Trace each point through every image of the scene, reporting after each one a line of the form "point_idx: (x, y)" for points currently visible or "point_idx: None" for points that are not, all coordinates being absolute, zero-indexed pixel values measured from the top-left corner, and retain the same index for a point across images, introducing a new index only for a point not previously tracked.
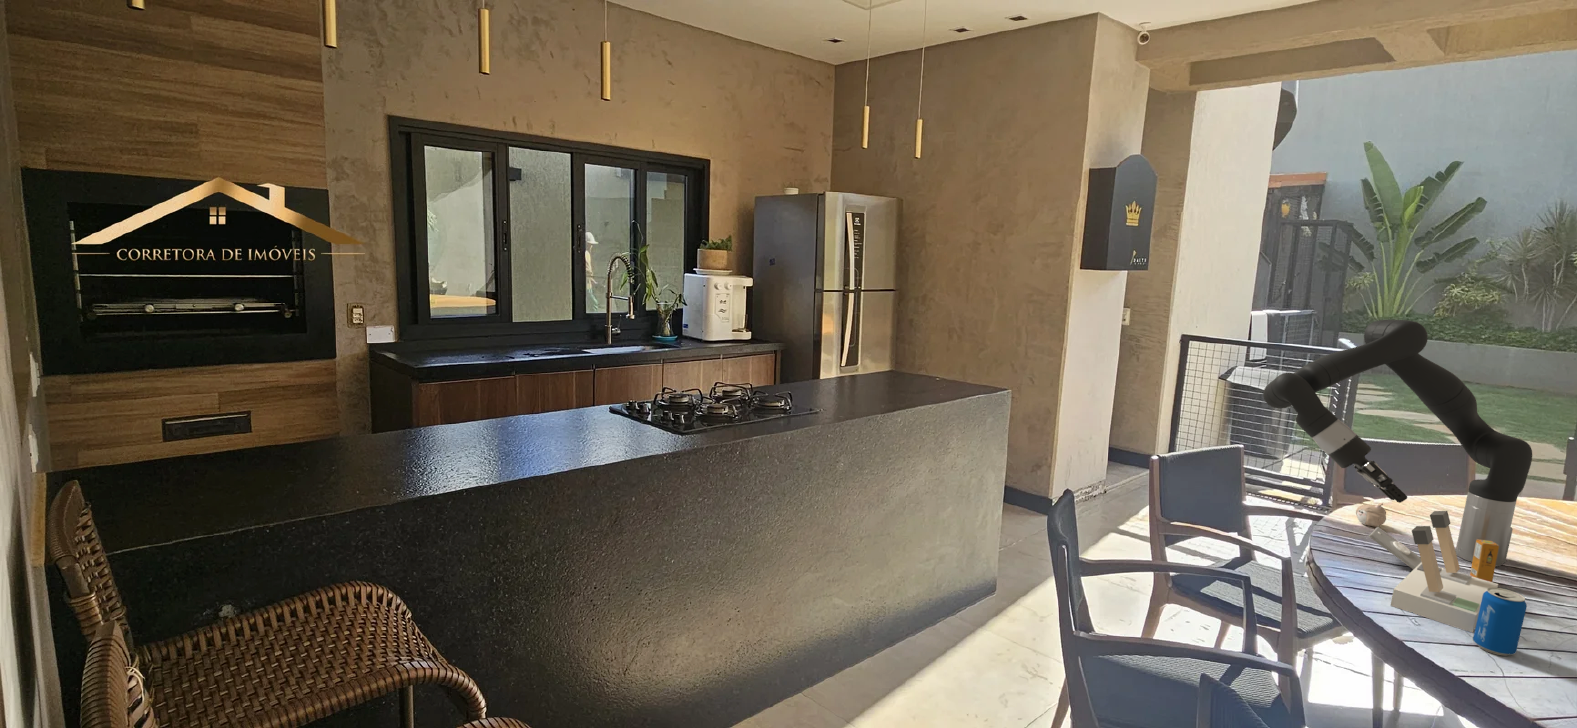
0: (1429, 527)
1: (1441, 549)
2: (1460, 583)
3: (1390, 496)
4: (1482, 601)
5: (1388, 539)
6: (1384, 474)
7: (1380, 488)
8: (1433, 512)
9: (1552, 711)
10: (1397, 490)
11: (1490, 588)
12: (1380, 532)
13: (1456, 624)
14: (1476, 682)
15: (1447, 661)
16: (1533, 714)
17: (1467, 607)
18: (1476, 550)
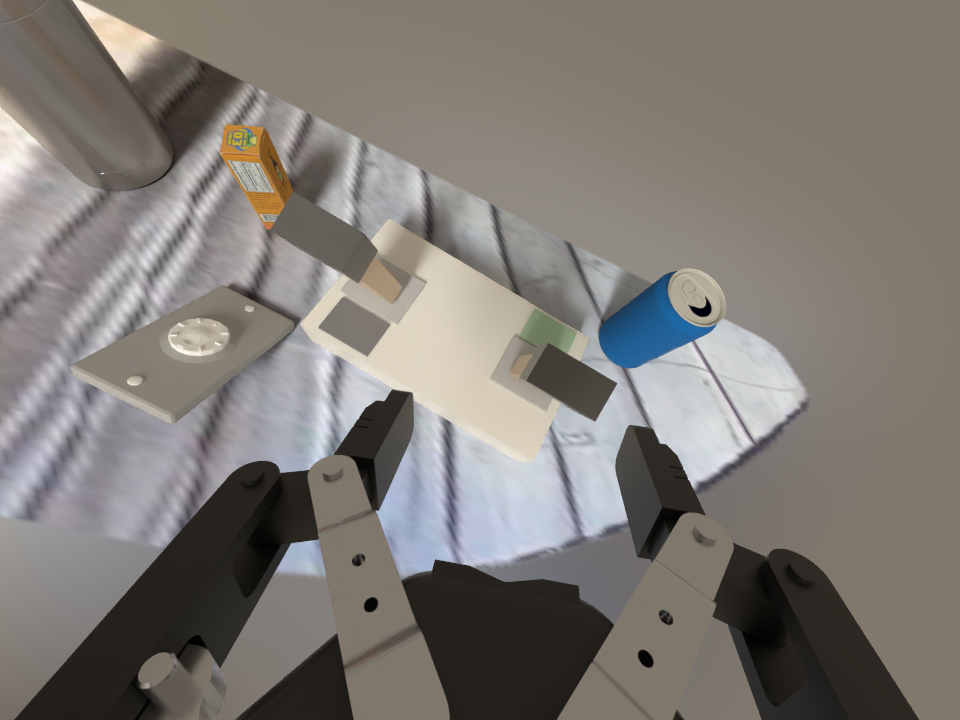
0: (559, 350)
1: (378, 291)
2: (422, 294)
3: (405, 441)
4: (681, 340)
5: (162, 360)
6: (878, 670)
7: (382, 501)
8: (298, 243)
9: (774, 354)
10: (690, 491)
11: (679, 312)
12: (123, 373)
13: None
14: (756, 421)
15: (712, 438)
16: (798, 382)
17: (567, 340)
18: (247, 178)
